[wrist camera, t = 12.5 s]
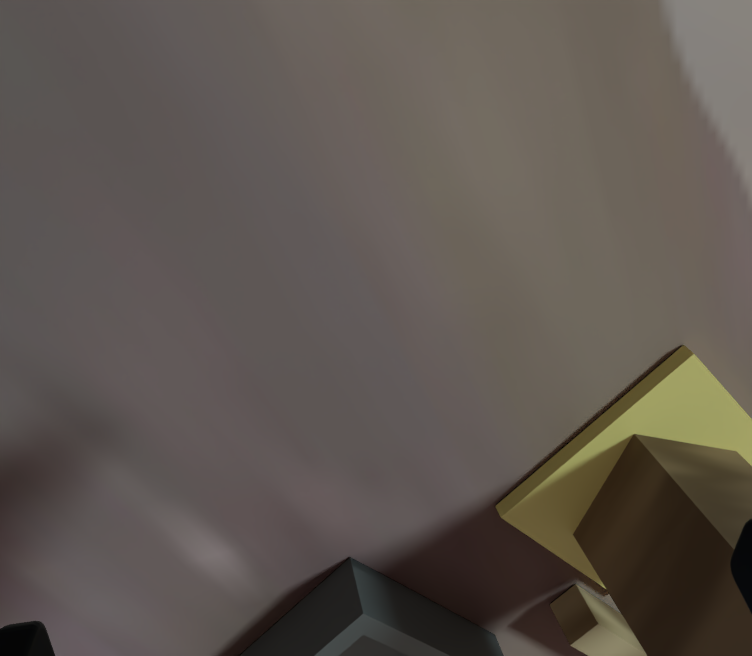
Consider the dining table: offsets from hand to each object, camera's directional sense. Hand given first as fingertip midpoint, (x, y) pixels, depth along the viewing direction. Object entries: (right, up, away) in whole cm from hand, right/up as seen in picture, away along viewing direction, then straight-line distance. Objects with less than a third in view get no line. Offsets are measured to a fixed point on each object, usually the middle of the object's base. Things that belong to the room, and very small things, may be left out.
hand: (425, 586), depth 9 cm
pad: (+10, -3, +18) cm, 21 cm away
